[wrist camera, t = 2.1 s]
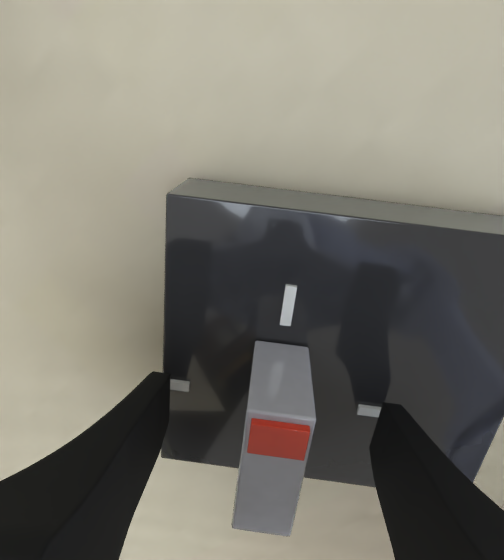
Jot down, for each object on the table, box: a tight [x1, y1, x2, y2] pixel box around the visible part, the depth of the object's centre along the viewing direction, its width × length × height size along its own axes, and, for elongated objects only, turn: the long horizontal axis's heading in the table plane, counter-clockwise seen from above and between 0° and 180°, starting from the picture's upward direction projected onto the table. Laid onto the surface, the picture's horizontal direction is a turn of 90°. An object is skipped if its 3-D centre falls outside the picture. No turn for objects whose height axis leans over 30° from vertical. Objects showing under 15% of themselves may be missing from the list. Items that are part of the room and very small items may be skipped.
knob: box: [232, 340, 316, 536], centre depth 12 cm, size 5×2×4 cm, turn 174°
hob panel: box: [161, 178, 504, 487], centre depth 15 cm, size 11×12×3 cm
